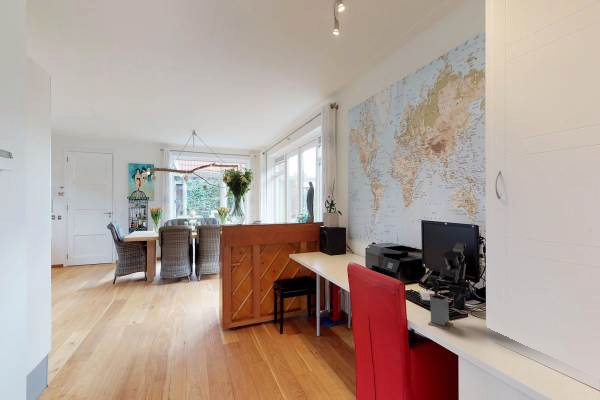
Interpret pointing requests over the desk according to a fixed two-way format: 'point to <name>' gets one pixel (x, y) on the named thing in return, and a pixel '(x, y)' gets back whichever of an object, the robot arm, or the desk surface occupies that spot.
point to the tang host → (441, 326)
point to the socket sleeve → (439, 310)
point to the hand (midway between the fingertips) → (445, 298)
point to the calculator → (426, 296)
